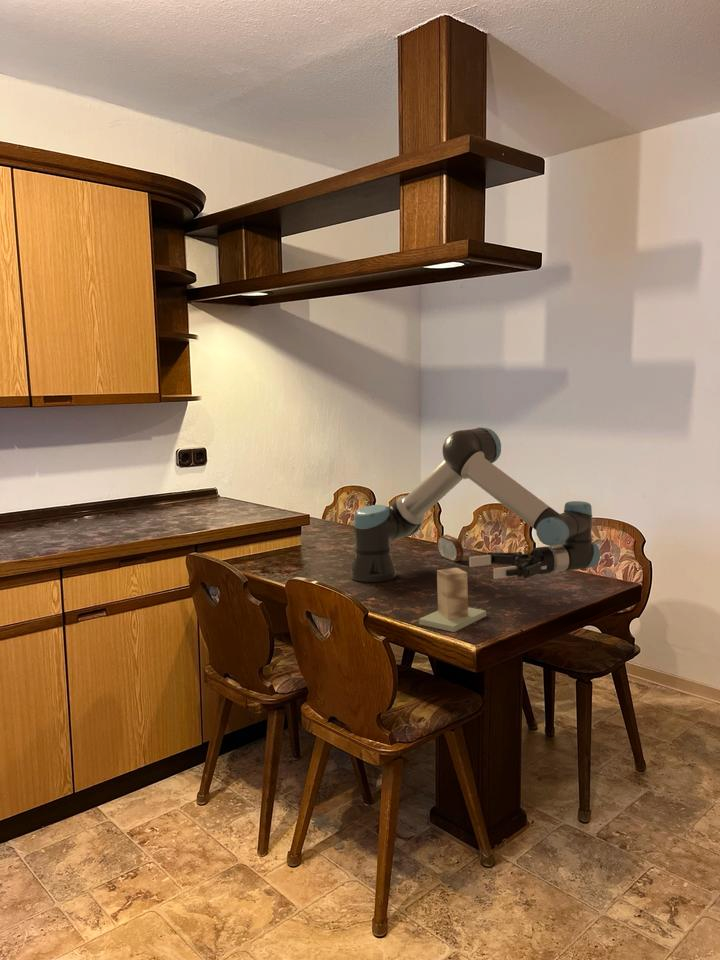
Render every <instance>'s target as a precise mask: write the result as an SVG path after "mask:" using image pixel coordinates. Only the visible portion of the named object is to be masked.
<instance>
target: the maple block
mask: <svg viewBox="0 0 720 960" xmlns="http://www.w3.org/2000/svg"><path fill="white" fill-rule="evenodd" d="M436 585H437V586H436V587H437V590H436V591H437V592H436V593H437V611H438V613H439V614H440V615H442V616H443V617H445V618H446V619H454V618H460V617H467V616H468V607H469V604H468V603H469V602H468V600H469V598H468V597H469V596H468V588H469V587H468V572H467V571H465V570H462V569H461V568H459V567H451V568H450V567H449V568H443V569H442V568H441V569H436Z"/></svg>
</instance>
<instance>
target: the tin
mask: <svg viewBox="0 0 720 960" xmlns="http://www.w3.org/2000/svg"><path fill="white" fill-rule="evenodd" d="M437 549H438V553H439V554H440V556H441V557H442V558H444V559H446V560H448V561H451V562H454V563H456V562H461V561H462V560H463V557H464V549H463V545H462V543H461V541H460V540H459V538H456V537H453V536H451V535H450V534H444V535H440V536H439V537H438V539H437Z"/></svg>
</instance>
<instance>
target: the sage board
mask: <svg viewBox="0 0 720 960" xmlns="http://www.w3.org/2000/svg"><path fill="white" fill-rule="evenodd" d="M486 617H487V610H485V609H480V608H475V607H469V606H468V616H467V617H460V618H454V619H446V618H445V617H443V616H442V615H440V614H439V613H438V610H436V611H433V612H431V613H429V614H426V615H423V617H419V618H418V625H420V626H424V627H429V628H433V629H438V630H443V631H446V632H451V633H455V632H457V631H459V630H461V629H463V628H465V627H467V626H469V625H471V624H473V623H476V622H477V621H479V620H481V619H483V618H486Z"/></svg>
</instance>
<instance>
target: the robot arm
mask: <svg viewBox="0 0 720 960" xmlns="http://www.w3.org/2000/svg"><path fill="white" fill-rule="evenodd" d="M501 453H502V443H501V439H500V438H499V436H498V435H497V433H496V432H495V431H494V430H493V429H491V428H488V427H476V428H471V429H461V430H456V431H454V432H452V433H450V434H449V435H447V437H446V438H445V440H444V441H443V444H442V456H443V460H442V461H441V462H440V463H439V464H438V465H437V466H436V467H435V468H434V469H433V470H431V472H430V473H429V474H428V475H426V477H425V478H424V479H423V480H422V481H420V483H419V484H417V486H415V487H414V488H413V489H412V490H411V491H410V492H408V494H407V495H401V496H398V498H396V500H395V501H394V502H392V503H391V504H390V505H388V506H386V505H383V504H373V505H372V504H371V505H365V506H362V507H360V508H359V509H357V510H356V511H355V513H354V515H353V517H354V518H353V519H354V521H353V527H354V529H353V530H354V547H355V548H354V549H355V550H354V553H355V556H354V559H353V561H352V566H351V570H350V578H351V579H352V580H354V581H356V582H357V581H358V582H361V583H380V582H386V581H390V580H393V579H395V578H396V577H397V568H396V566H395V565H394V562H393V561H394V560H393V558H392V555H391V542H394V541H397V540H401V539H405V538H409V537H411V536H413V535H415V534H416V533H417V532H419V530H420V528H421V527H422V523H423V521H424V519H425V514H426V513H428V511H430V510H431V509H432V508H433V507H434V506H435V505H436V504H437V503H439V502H440V500H442V498H444V497H445V496H446V495H447V494H448V493H449V492H450V491H452V490H453V489H454V488H455V487H456V486H457V485H458V484H459V483H461V481H463V480H466V479H467V480H468V479H469V480H470V481H471V482H472V483H474V484H476V486H478V487H479V488H481V489H482V490H484V491H485V492H486V493H487V494H488V495H489V496H491V497H492V498H493V499H495V500H496V501H497V502H499V503H500V504H502V505H503V506H504V507H505V508H506V509H508V510H509V511H510V512H512V513H513V514H514V515H516V516H517V517H518V518H519V519H521V520H522V521H523V522H524V523H526V524H527V525H528V526H530V527H531V528H532V529H534V530H535V532H536V536H537V538H538V540H539V541H540V542H541V543H542V544H544V545H545V546H539V547H534V548H533V549H532V550H531V552H530V554H529V553H523V552H521V551H519V552H518V551H517V552H490V551H488V552H487V554H486V555H475V556H469V559H468V561H469V563H468V566H469V567H470V568H472V567H473V568H475V567H484V566H489V567H491V566H492V564H494V565H495V564H496V565H509V566H503V567H496V568H493V571H492V572H493V575H492V576H493V577H492V578H493V579H494V580H497V579H505V578H513V577H514V578H515V577H519V578H521V577H522V578H523V579H528V578H530V577H533V576H535V575H544V574H551V573H555V574H559V572H566V571H574V570H575V571H576V570H585V569H590V568H593V567H596V566H597V565H598V564H599V563H600V561H601V552H600V547H599V546H598V544H597V543H595V542H594V541H592V523H593V512H592V508H593V507H592V505H591V504H590V503H589V502H587V501H581V500H580V501H579V500H577V501H571V500H570V501H568V502H565V504H564V508H563V512H562V513H559V512H558V511H556V510H555V509H554V508H552V507H551V506H549V505H548V504H547V503H546V502H544V501H543V500H542V499H540V498H539V497H537V496H536V495H535V494H533V493H532V492H531V491H529V490H528V489H527V488H525V487H524V486H523V485H521V484H520V483H519V482H518V481H516V480H515V479H514V478H512V477H510V476H509V475H508V474H507V473H505V472H504V471H503V470H501V469H500V468H499V467H497V466H496V465H495V464H494V463H495V462H496V461H497V460H498V459H499V457H500V456H501Z"/></svg>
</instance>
